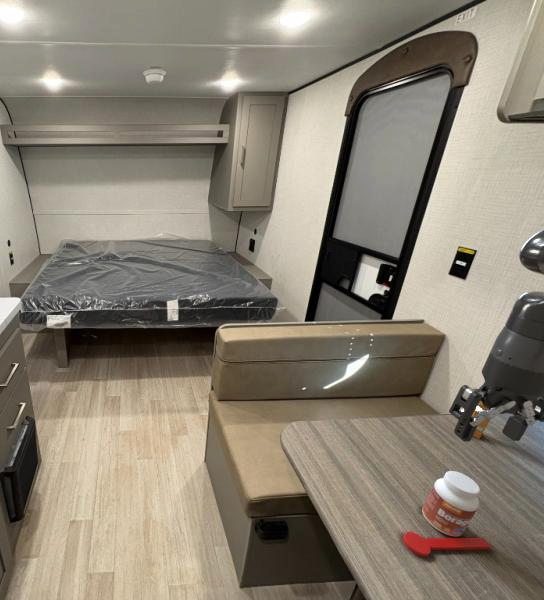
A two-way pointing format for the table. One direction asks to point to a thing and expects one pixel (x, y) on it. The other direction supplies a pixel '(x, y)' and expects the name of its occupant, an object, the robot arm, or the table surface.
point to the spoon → (442, 544)
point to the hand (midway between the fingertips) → (485, 437)
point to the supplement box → (481, 425)
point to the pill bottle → (452, 503)
